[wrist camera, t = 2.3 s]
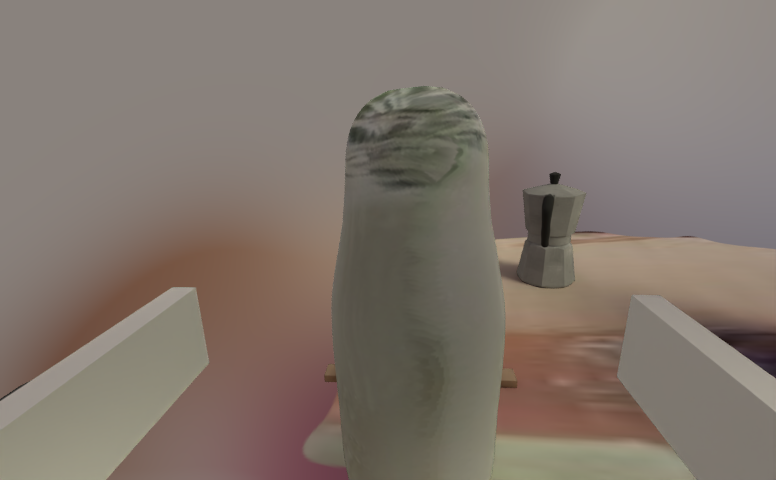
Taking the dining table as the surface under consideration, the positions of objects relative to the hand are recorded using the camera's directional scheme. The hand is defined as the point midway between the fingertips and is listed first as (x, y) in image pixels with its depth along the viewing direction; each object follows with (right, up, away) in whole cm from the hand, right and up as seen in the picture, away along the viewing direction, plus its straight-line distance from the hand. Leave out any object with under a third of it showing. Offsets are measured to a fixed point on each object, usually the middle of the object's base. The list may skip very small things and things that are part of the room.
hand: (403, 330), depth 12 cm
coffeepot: (+26, -4, +53) cm, 59 cm away
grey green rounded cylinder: (+2, -16, +16) cm, 23 cm away
